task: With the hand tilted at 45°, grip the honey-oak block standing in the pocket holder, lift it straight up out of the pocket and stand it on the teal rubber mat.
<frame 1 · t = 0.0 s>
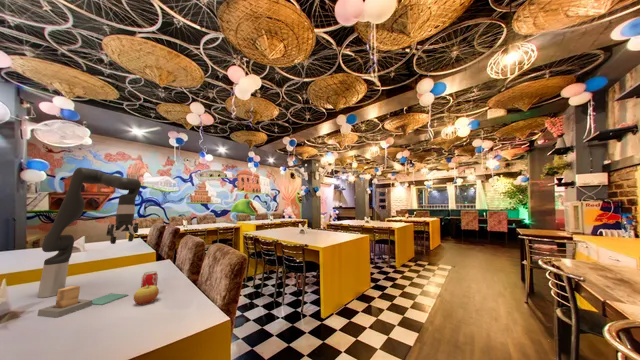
hand: (121, 242, 115), 29 cm above the table, tool pointing down, fingers open, 8 cm apart
teal mat: (106, 299, 110), on the table
oak block: (67, 299, 99), in the pocket holder
apple: (145, 302, 106), on the table
soda can: (148, 295, 115), on the table
pocket holder: (65, 310, 98), on the table
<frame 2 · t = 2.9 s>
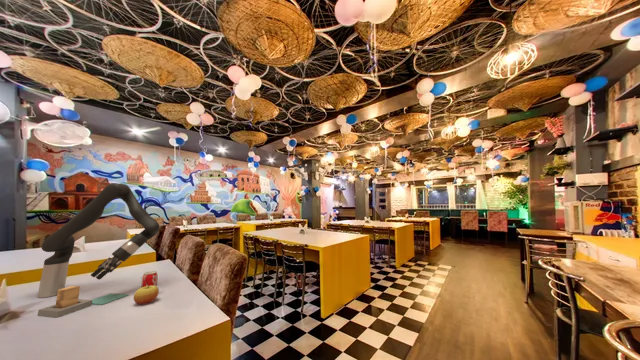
hand: (94, 277, 107), 13 cm above the table, tool tilted 45°, fingers open, 8 cm apart
nothing on the table moved.
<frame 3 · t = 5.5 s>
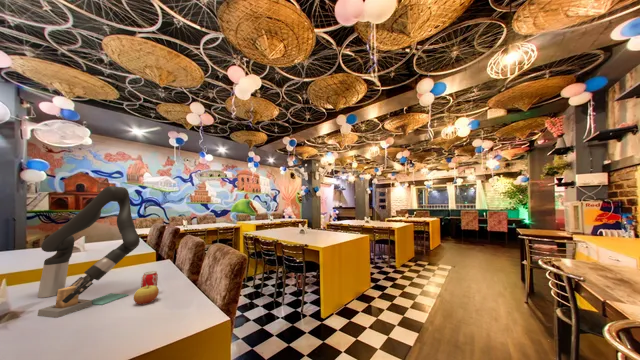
hand: (62, 300, 98), 5 cm above the table, tool tilted 45°, fingers closed on oak block, 6 cm apart
oak block: (67, 299, 99), in the pocket holder, touching gripper
everything else where it was.
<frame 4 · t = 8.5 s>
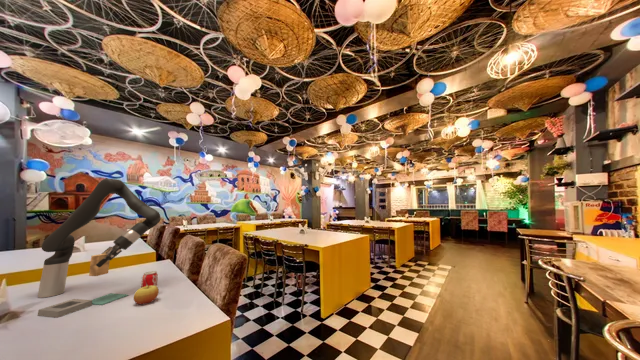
hand: (95, 265, 108), 19 cm above the table, tool tilted 45°, fingers closed on oak block, 6 cm apart
oak block: (99, 264, 109), point 19 cm above the table, touching gripper
everything else where it was.
when the fingers open (7 cm above the table, at t = 11.7 s): oak block drops 1 cm, resting on teal mat.
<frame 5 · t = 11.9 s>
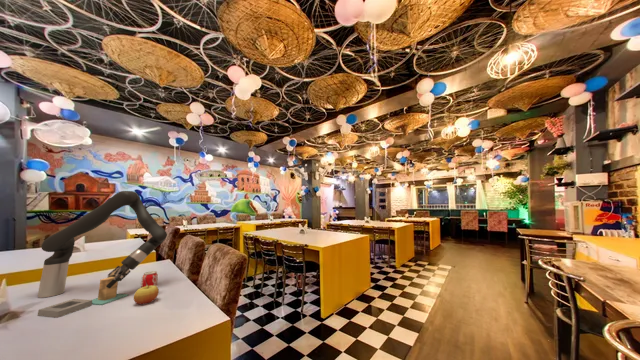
hand: (104, 286, 110), 7 cm above the table, tool tilted 45°, fingers open, 8 cm apart
oak block: (108, 288, 111), on the teal mat, point 6 cm above the table
everything else where it was.
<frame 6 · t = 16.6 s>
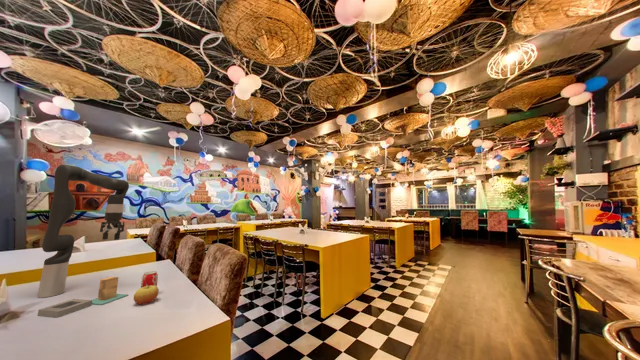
hand: (110, 239, 122), 30 cm above the table, tool pointing down, fingers open, 8 cm apart
nothing on the table moved.
at the end: oak block inside the target area on the teal mat (0.1 cm from its centre), point 5.6 cm above the teal mat's base; oak block tilted 0°; the gripper is holding nothing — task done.
